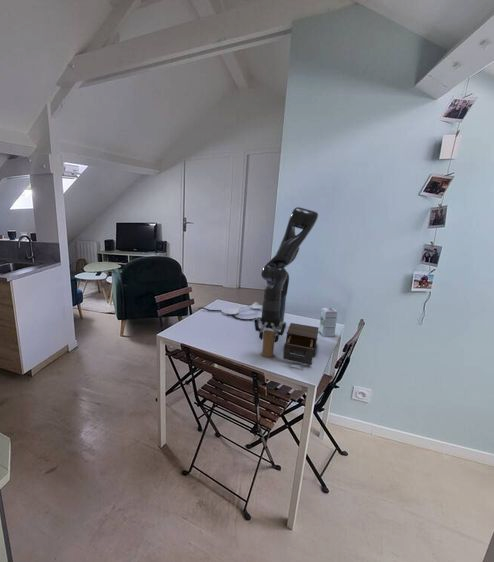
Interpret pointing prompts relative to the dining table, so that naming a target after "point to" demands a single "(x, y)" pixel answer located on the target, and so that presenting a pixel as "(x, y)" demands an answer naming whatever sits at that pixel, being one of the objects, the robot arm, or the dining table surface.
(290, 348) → the drawer
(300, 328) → the cabinet
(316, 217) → the robot arm
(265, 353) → the tan wooden cylinder
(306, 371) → the dining table surface
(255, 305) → the spoon
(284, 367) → the dining table surface
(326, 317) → the syrup box
